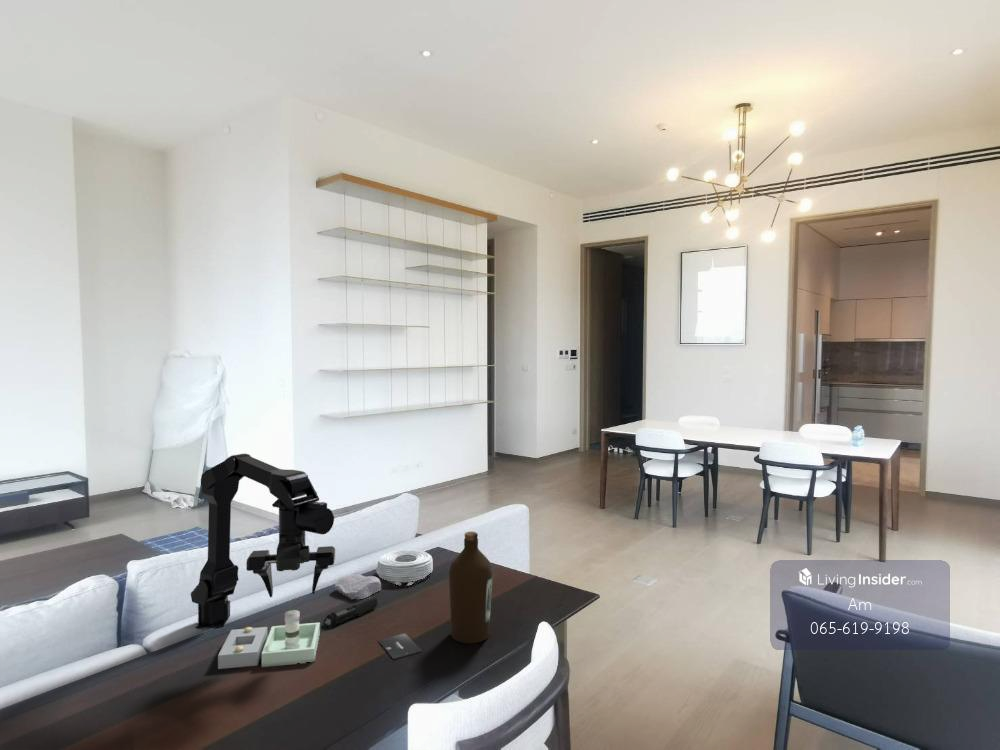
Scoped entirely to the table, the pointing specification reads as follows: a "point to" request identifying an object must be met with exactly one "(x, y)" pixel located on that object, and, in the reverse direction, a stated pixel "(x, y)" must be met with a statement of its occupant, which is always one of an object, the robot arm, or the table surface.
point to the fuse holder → (243, 647)
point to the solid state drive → (399, 646)
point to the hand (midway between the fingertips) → (292, 595)
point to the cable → (404, 566)
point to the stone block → (358, 586)
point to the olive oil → (470, 593)
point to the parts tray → (279, 656)
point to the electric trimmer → (349, 612)
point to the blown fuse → (292, 630)
